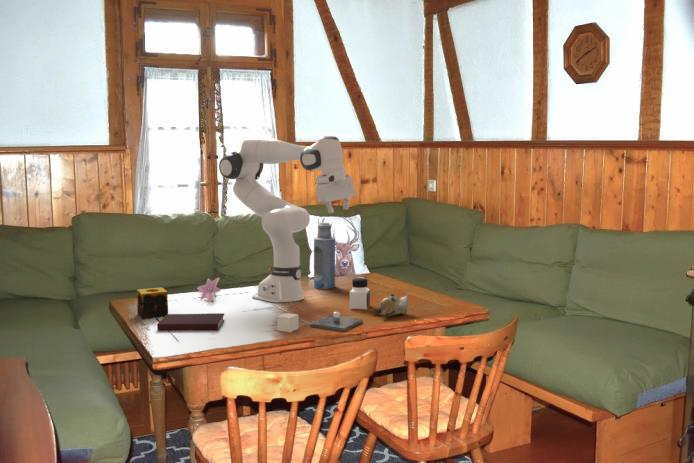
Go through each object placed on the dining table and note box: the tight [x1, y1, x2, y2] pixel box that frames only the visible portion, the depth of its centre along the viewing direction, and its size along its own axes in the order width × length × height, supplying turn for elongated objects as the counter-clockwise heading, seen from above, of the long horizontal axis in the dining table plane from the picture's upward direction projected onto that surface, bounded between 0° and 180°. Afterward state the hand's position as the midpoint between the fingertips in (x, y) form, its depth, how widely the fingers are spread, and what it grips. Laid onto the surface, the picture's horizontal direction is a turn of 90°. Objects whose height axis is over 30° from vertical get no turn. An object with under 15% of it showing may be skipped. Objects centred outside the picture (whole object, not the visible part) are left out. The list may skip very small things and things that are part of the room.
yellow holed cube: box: [136, 286, 169, 320], centre depth 269 cm, size 10×10×10 cm
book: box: [156, 312, 225, 332], centre depth 253 cm, size 14×22×4 cm, turn 90°
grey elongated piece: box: [313, 221, 336, 290], centre depth 319 cm, size 10×10×30 cm
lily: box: [197, 277, 222, 303], centre depth 297 cm, size 11×11×9 cm
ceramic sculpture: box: [368, 293, 410, 318], centre depth 267 cm, size 11×9×15 cm
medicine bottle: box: [349, 277, 371, 310], centre depth 280 cm, size 7×7×12 cm
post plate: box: [309, 311, 363, 333], centre depth 254 cm, size 14×14×5 cm
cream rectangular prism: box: [276, 312, 299, 333], centre depth 247 cm, size 5×5×5 cm
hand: (338, 211), depth 278 cm, fingers open, 8 cm apart
